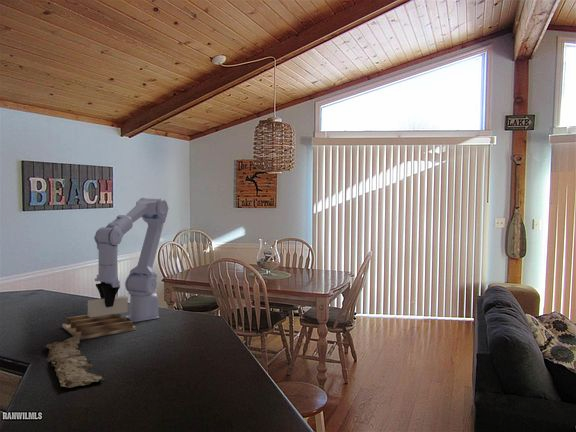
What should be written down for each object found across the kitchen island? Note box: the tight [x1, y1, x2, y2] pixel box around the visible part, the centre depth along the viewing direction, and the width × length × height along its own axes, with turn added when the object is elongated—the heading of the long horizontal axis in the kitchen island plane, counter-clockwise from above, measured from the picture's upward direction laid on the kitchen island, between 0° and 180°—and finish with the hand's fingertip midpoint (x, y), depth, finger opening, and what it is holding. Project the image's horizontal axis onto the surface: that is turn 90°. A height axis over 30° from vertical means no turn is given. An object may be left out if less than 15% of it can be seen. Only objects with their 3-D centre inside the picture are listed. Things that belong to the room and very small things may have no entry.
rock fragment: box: [44, 335, 106, 388], centre depth 120 cm, size 34×10×3 cm, turn 37°
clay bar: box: [87, 295, 129, 318], centre depth 149 cm, size 12×2×5 cm, turn 132°
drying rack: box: [61, 313, 137, 341], centre depth 152 cm, size 18×17×3 cm
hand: (107, 305), depth 149 cm, fingers closed on clay bar, 2 cm apart
